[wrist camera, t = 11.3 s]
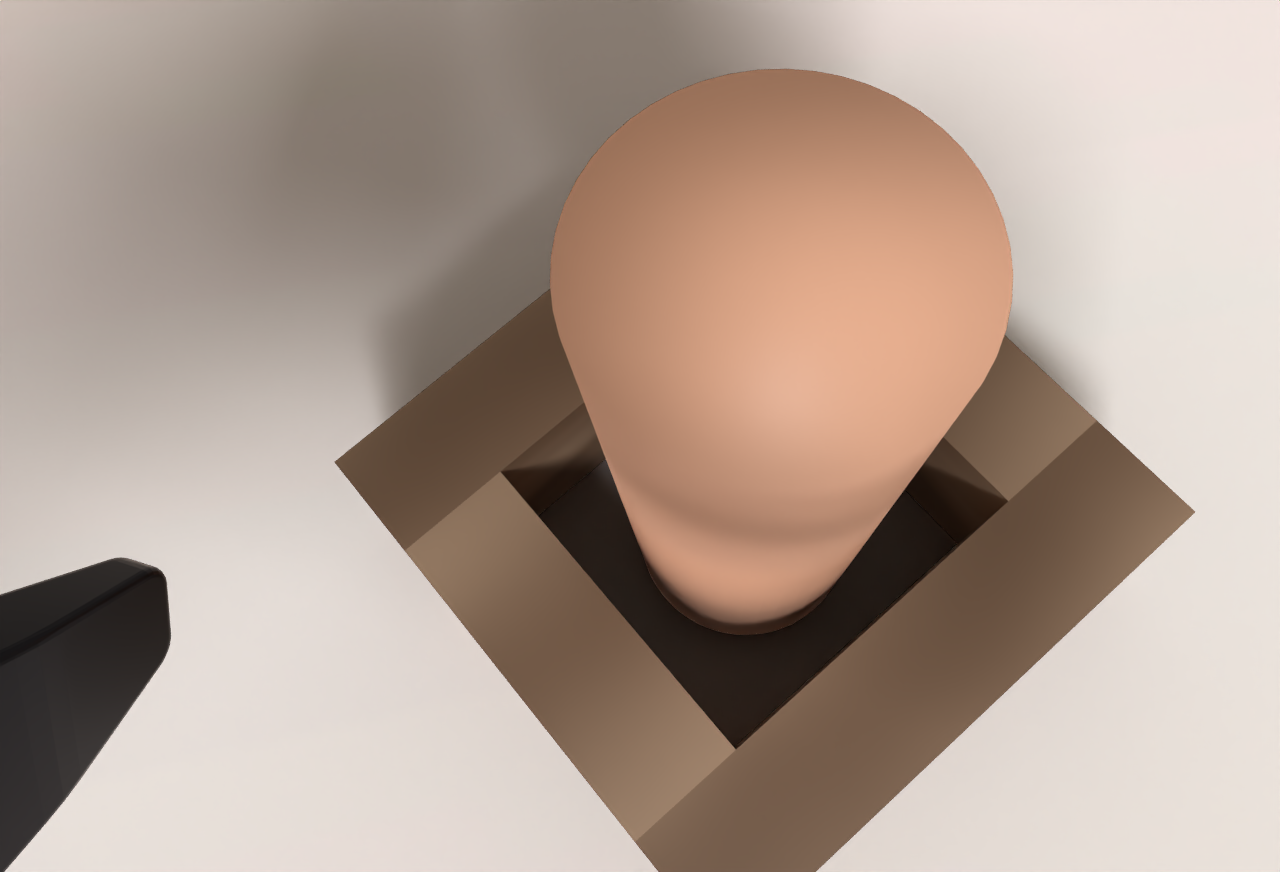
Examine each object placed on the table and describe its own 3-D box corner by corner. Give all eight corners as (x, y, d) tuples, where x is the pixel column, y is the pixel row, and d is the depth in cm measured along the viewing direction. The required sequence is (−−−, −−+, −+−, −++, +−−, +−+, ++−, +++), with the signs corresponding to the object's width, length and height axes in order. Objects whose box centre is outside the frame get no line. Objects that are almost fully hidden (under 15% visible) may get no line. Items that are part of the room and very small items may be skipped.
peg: (891, 540, 22) (1113, 277, 10) (736, 679, 22) (763, 588, 9) (750, 393, 23) (789, -6, 11) (599, 522, 23) (459, 252, 10)
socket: (1111, 552, 22) (1195, 512, 18) (724, 916, 20) (725, 956, 16) (758, 212, 25) (767, 114, 21) (397, 508, 23) (334, 461, 19)
